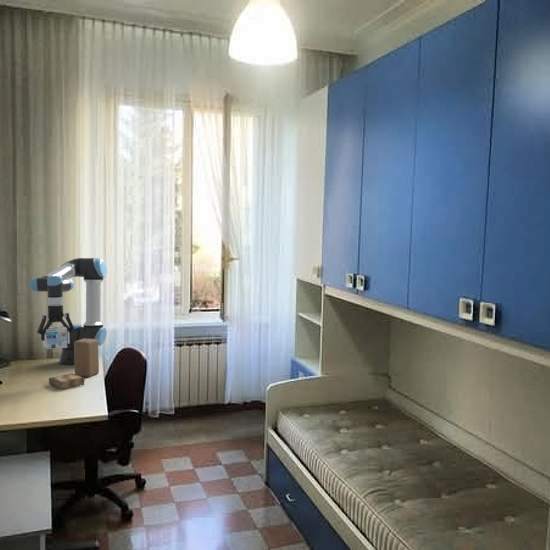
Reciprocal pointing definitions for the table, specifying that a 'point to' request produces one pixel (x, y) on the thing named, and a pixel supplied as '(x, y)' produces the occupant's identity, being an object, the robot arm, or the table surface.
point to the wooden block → (86, 357)
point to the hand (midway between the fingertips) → (56, 344)
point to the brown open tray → (66, 381)
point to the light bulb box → (56, 337)
